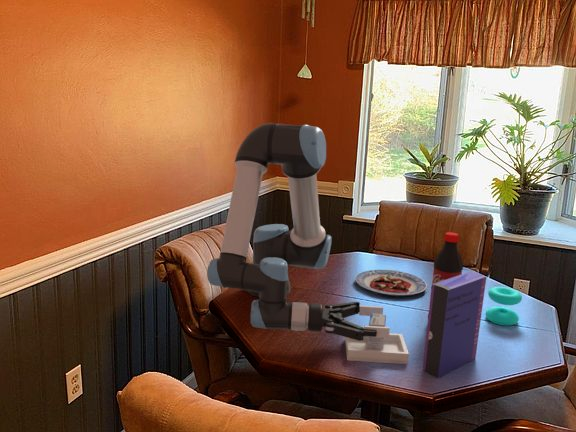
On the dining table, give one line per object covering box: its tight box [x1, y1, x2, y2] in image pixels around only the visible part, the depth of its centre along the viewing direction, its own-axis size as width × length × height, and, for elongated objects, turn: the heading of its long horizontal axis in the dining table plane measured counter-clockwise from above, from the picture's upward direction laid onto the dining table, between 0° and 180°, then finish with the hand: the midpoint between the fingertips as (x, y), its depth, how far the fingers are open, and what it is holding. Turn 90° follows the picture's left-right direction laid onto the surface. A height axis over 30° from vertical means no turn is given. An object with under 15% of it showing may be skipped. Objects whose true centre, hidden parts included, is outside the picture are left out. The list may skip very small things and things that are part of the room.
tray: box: [344, 332, 410, 365], centre depth 154 cm, size 12×16×3 cm
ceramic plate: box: [355, 269, 428, 296], centre depth 206 cm, size 26×26×3 cm
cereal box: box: [421, 271, 487, 379], centre depth 147 cm, size 17×5×24 cm, turn 131°
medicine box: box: [367, 313, 387, 350], centre depth 154 cm, size 8×4×9 cm, turn 169°
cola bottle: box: [427, 232, 464, 316], centre depth 169 cm, size 8×8×30 cm
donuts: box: [485, 286, 523, 326], centre depth 179 cm, size 10×10×10 cm
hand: (385, 321), depth 153 cm, fingers open, 13 cm apart
